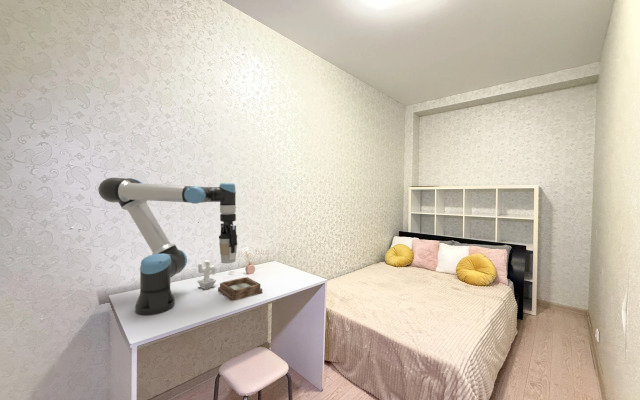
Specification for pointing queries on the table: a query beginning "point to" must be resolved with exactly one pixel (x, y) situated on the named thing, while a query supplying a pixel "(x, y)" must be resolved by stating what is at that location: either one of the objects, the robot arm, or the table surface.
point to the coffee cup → (225, 248)
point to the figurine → (206, 275)
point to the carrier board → (239, 288)
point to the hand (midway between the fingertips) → (228, 257)
